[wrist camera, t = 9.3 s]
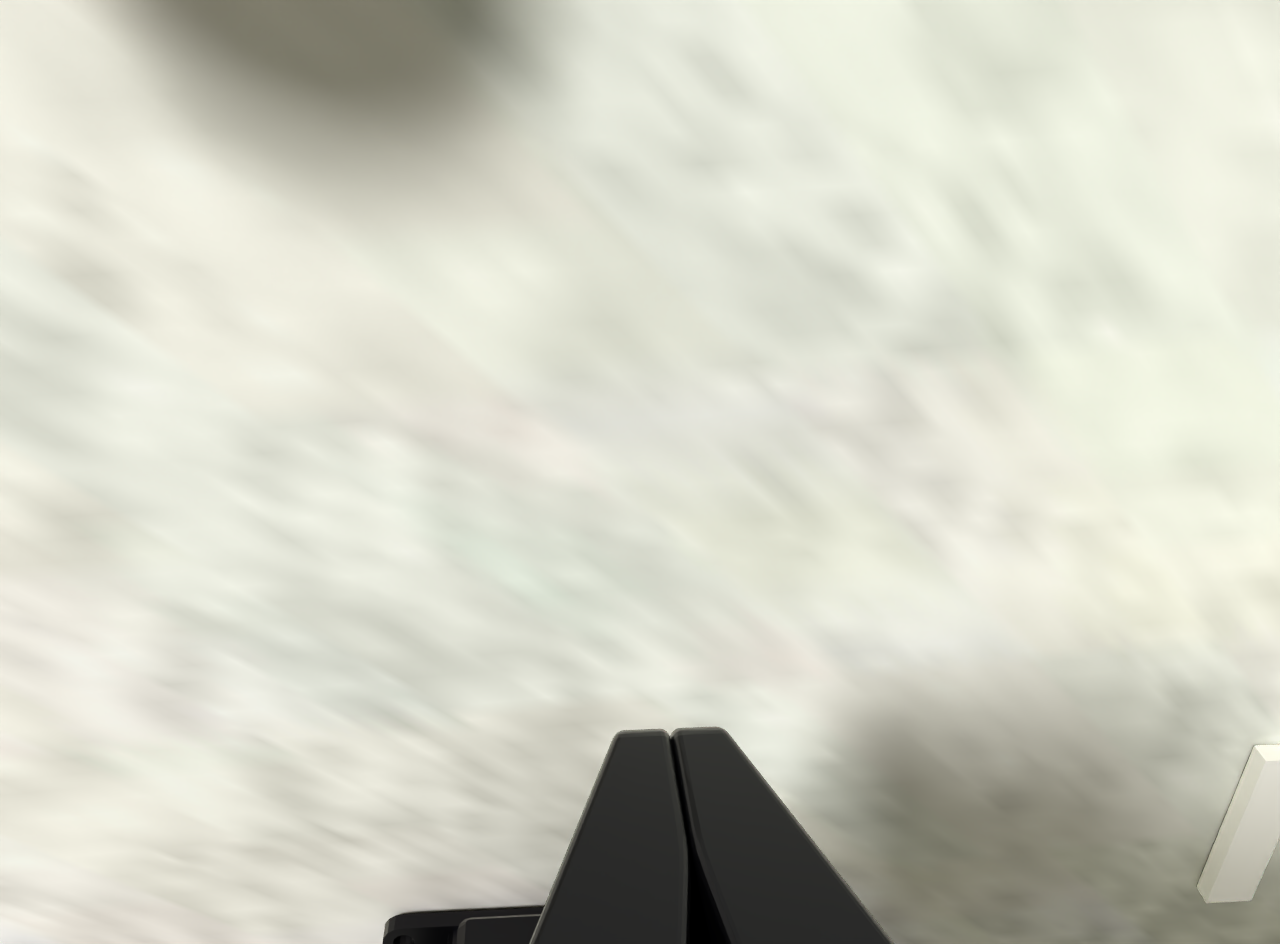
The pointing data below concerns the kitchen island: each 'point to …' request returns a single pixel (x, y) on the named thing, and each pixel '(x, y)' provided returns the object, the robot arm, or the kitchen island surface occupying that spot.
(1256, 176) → the kitchen island surface
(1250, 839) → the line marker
